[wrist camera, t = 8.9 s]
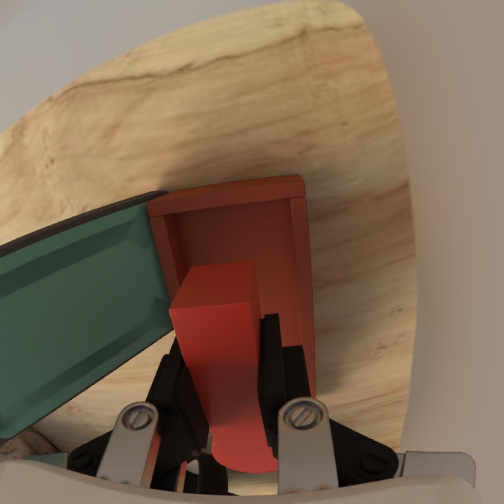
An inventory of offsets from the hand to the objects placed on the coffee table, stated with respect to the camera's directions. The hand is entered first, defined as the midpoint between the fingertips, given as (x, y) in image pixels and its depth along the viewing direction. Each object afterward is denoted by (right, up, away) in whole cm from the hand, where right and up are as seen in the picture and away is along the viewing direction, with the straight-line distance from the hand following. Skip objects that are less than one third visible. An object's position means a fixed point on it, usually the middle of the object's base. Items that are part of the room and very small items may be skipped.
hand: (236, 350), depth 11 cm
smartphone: (-8, +1, 0) cm, 8 cm away
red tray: (0, 0, +6) cm, 6 cm away
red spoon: (0, -2, +1) cm, 3 cm away
